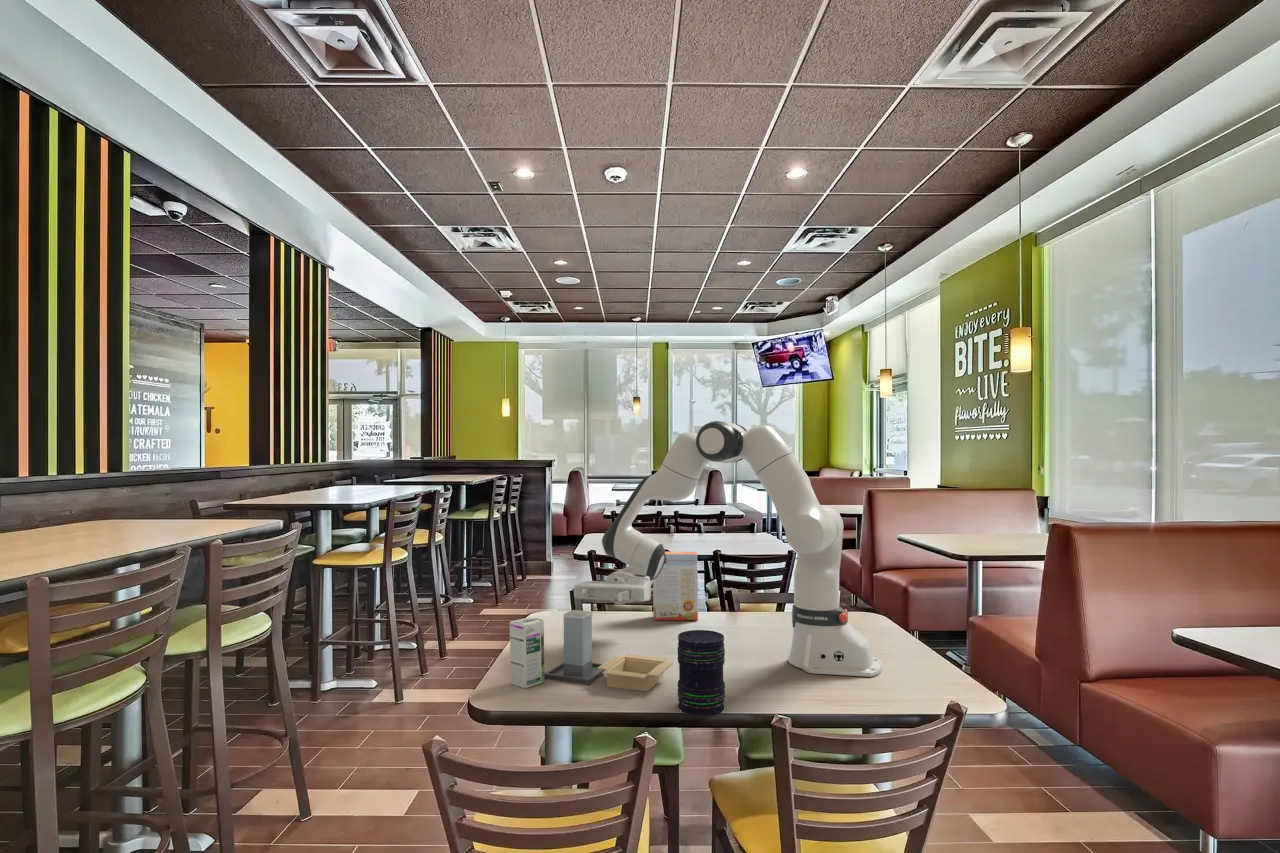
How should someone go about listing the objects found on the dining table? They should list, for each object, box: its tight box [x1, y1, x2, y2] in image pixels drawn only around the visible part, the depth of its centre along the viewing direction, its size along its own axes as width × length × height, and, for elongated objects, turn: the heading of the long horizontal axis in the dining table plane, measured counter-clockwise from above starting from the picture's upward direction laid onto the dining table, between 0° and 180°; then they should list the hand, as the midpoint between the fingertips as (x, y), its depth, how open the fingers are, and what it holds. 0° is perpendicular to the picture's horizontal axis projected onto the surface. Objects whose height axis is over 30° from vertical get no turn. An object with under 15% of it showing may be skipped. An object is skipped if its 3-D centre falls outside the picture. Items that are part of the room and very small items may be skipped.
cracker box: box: [652, 551, 699, 622], centre depth 226 cm, size 14×6×21 cm, turn 84°
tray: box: [544, 661, 605, 686], centre depth 171 cm, size 12×12×1 cm
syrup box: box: [509, 616, 546, 689], centre depth 165 cm, size 6×6×14 cm
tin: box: [563, 609, 593, 676], centre depth 171 cm, size 5×5×14 cm
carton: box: [597, 653, 674, 692], centre depth 166 cm, size 15×15×4 cm
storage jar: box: [677, 629, 726, 718], centre depth 149 cm, size 10×10×15 cm
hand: (599, 597), depth 182 cm, fingers open, 8 cm apart
